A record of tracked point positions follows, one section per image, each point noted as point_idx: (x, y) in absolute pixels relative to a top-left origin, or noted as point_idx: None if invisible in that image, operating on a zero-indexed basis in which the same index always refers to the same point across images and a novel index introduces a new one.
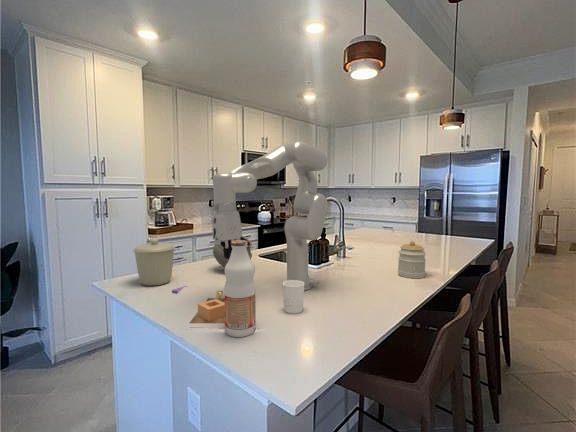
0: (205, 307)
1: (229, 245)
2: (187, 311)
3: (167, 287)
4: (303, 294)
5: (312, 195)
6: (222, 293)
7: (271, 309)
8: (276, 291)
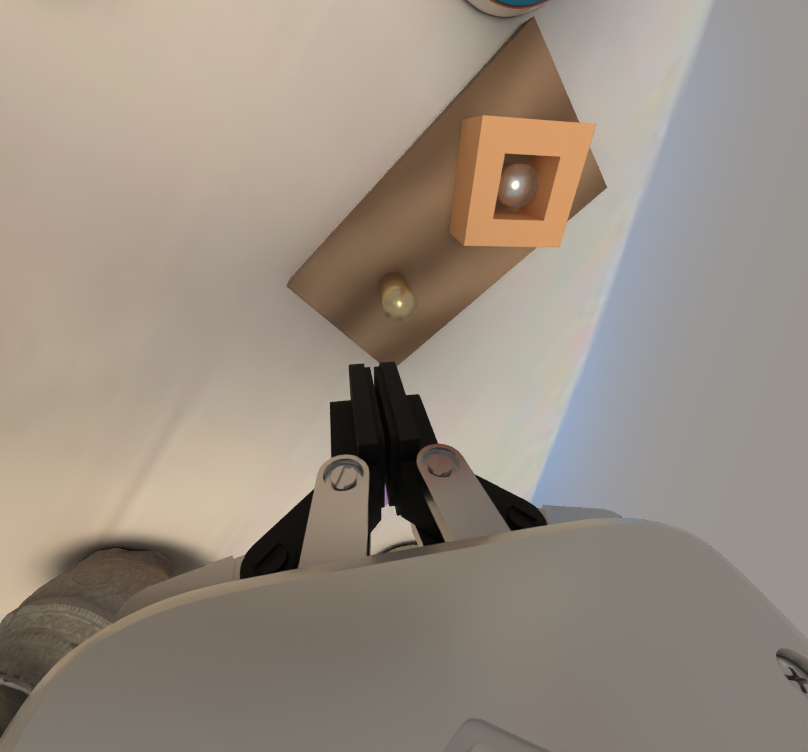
0: (579, 170)
1: (376, 498)
2: (491, 332)
3: (406, 524)
4: None
5: None
6: (394, 290)
7: (179, 29)
8: (19, 270)
